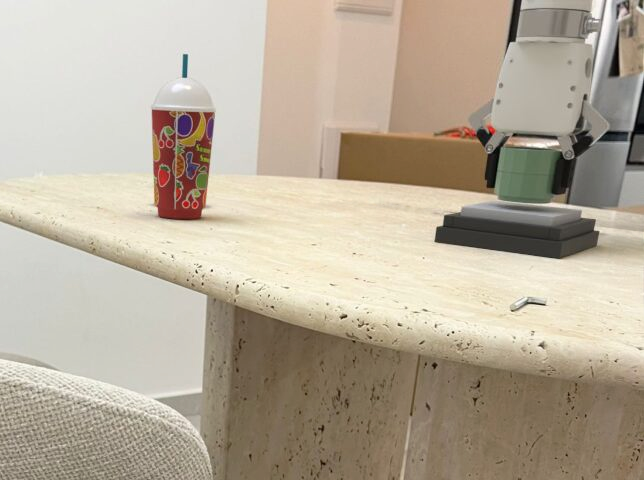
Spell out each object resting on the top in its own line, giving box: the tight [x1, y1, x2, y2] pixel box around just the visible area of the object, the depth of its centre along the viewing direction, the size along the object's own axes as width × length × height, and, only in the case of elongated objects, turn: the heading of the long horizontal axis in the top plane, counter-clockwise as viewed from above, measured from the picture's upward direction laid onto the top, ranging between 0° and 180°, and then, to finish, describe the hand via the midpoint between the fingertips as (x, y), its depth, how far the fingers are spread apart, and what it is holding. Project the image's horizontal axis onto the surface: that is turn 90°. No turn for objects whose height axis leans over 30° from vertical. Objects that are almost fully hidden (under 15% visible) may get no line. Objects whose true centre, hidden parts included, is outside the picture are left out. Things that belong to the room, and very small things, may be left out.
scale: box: [434, 211, 600, 260], centre depth 115 cm, size 15×15×3 cm
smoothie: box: [150, 53, 217, 220], centre depth 122 cm, size 8×8×20 cm
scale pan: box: [460, 200, 583, 227], centre depth 115 cm, size 11×11×2 cm
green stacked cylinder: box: [493, 145, 562, 205], centre depth 113 cm, size 7×7×6 cm
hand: (525, 189), depth 113 cm, fingers closed on green stacked cylinder, 7 cm apart
